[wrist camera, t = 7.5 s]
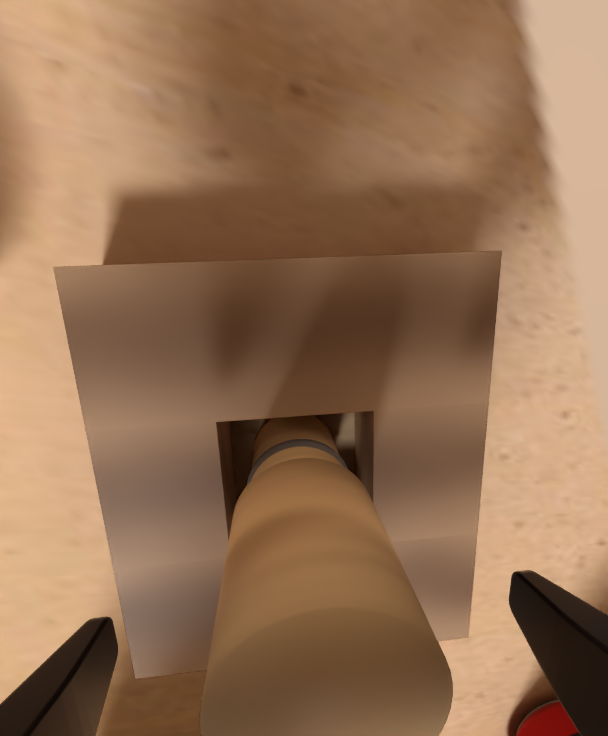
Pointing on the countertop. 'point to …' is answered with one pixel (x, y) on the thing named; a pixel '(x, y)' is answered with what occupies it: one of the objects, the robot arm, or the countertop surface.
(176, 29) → the countertop surface
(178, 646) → the board
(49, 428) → the countertop surface
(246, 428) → the countertop surface
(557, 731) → the beverage can
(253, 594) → the peg
